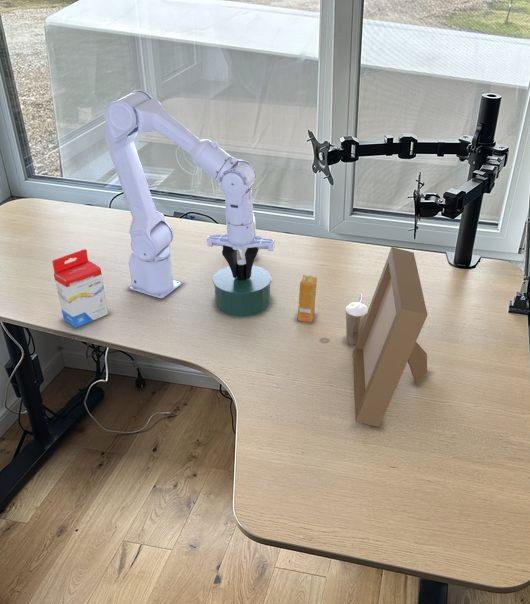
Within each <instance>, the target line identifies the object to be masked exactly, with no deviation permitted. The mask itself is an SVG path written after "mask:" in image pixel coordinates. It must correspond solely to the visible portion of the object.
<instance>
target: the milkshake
mask: <svg viewBox="0 0 530 604" xmlns="http://www.w3.org/2000/svg"><path fill="white" fill-rule="evenodd" d="M362 297H363V294H362V293H360V294H359V299H358V302H356V301H353V302H351V303H348V304H347V305H346V307H345V329H346V331H345V332H346V334H345V335H346V337H345V338H346V343H347V344H348V345H350V346H355V344H356V342H357V339H358V336H359V333H360V331H361V328H362V325H363V323H364V320H365V317H366V314H367V312H368V309H369V307H367V305H366V304H364V303H362V299H363V298H362Z"/></svg>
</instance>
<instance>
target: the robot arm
mask: <svg viewBox="0 0 530 604" xmlns="http://www.w3.org/2000/svg"><path fill="white" fill-rule="evenodd" d="M102 115H103V118H104V121H105V129H104V130H105V131H104V140H105V144H106V147H107V149H108V152H109V155H110V158H111V160H112V164H113V166H114V170H115V172H116V176H117V178H118V180H119V183H120V186H121V189H122V192H123V195H124V198H125V201H126V204H127V206H128V209H129V212H130V215H131V217H132V219H131V224H130V227H129V236H130V248H131V251H132V252H131V254H130V256H129V260H128V267H129V274H130V282H131V286H130V287H129V289H130V290H131V291H135V292H138V293H142V294H145V295H148V296H151V297H155V298H157V299H164V298H165V297H166V296H168V295H169V294H170V293H172V292H174V291H175V290H176V289H177V288H179V287H180V286H182V282H181V281H178V280H175V279H174V277H173V276H174V275H173V268H172V267H173V265H172V258H171V256H172V255H171V247H170V245H171V243H172V242H173V240H174V236H175V235H174V230H173V227H171V225H170V224H169V223H168V221H167V219H166V218H165V214H163V213H162V212H160V211H158V210H157V208H156V205H155V202H154V199H153V195H152V193H151V191H150V187H149V184H148V181H147V179H146V175H145V172H144V169H143V167H142V163H141V160H140V157H139V154H138V150H137V148H136V145H135V139H136V137H137V136H138V134H139V133H153V132H157V133H158V134H160V135H161V136H163V137H165V138H166V139H167V140H169V141H171V142H172V143H173V144H175V145H176V146H178V147H179V148H181V149H183V150H184V151H185V152H187V153H188V154H190V158H191V161H192V163H193V164H194V165H195V166H197V168H199V169H201V170H202V171H203V172H205V173H206V174H207V175H209V176H210V177H211V178H213V179H214V180H216V181H217V182H218V183H219V187H220V190H221V191H222V193H223V194H224V197H225V198H224V199H225V201H224V202H225V203H224V204H225V220H226V221H225V223H226V233H224V234H208V236H207V238H206V244H207V245H206V246H207V247H208V248H209V247H213V246H215V247H222V251H221V255H222V257H224V260H226V262H227V264H228V266H230V268H231V271H232V274H233V278H236V277H237V271H236V262H237V261H238V251H239V250H242V249H243V248H247V250H246V252H245V259H246V279H250V277H251V271H252V266H253V265H254V262H255V260H256V258H257V255H258V254H259V253H258V252H259V250H267V251H269V252H274V249H275V239H274V238H266V237H262V236H258V235H256V236H255V235H254V231H253V213H254V200H253V187H252V186H253V185H254V183H255V182H256V178H257V174H256V170H255V168H254V167H253V165H252V164H251V163H250V162H249V161H247V160H245V159H238V158H237V157H235V156H232V155H230V154H229V153H227V151H225V150H224V149H222V148H221V147H220V144H219V142H217V141H216V140H213V141H212V140H210V139H208V138H207V139H206V138H205V139H200V138H199V137H198V136H196V134H194V133H193V132H192V131H190V129H188V128H187V127H186V126H185V125H184V124H182V123H181V122H180V121H179V120H177V119H176V118H175V117H174V116H173V115H172V114H171V113H169V112H168V111H167V110H166V109H165V108H164V107H163V105H162V103H161V102H160V101H159V100H158V99H157V98H154V97H153V96H152V95H151V94H150V93H148V92H147V91H145V90H142V89H136V90H133V91H131V92H130V93H129V94H127V95H125V96H123V97H121V98H119V99H116V100H113V101H112V102H110V103H109V104H108V106H107V107H106V109H105V111H104V112H103V114H102ZM255 257H256V258H255Z"/></svg>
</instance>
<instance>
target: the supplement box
mask: <svg viewBox="0 0 530 604" xmlns="http://www.w3.org/2000/svg"><path fill="white" fill-rule="evenodd" d="M317 281H318V277H317V276H314V275H308V274H307V275H305V274H303V275H302V278H301V280H300V282H299V293H298V307H297V308H298V310H297V321H299V322H305V323H312V322H313V319H314V316H315V309H316V293H317Z"/></svg>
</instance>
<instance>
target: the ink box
mask: <svg viewBox="0 0 530 604" xmlns="http://www.w3.org/2000/svg"><path fill="white" fill-rule="evenodd" d="M70 259H75V260H72V261H69V260H70ZM67 261H69V262H67ZM66 262H67V263H66ZM52 267H53V277H54V281H55V287H56V291H57V295H58V300H59V305H60V309H61V313H62V317H63V321H65V322H66V323H67V324H69V325H71V326H72V327H73V328H75V329H77V328H79V327H81V326H83V325H86V324H88V323H91V322H93V321H95V320H98V319H101V318H102V317H104V316H107V315H109V309H108V303H107V298H106V292H105V286H104V280H103V273H102V269H101V267H100V266H98V265H97V264H96V263H94V262H93V261H90V260H89V258H88V250H87V249H86V248H84V249H81V250H78V251H75V252H73V253H70V254H66V255H64V256H60V257H58V258H55V259H53V260H52Z"/></svg>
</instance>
